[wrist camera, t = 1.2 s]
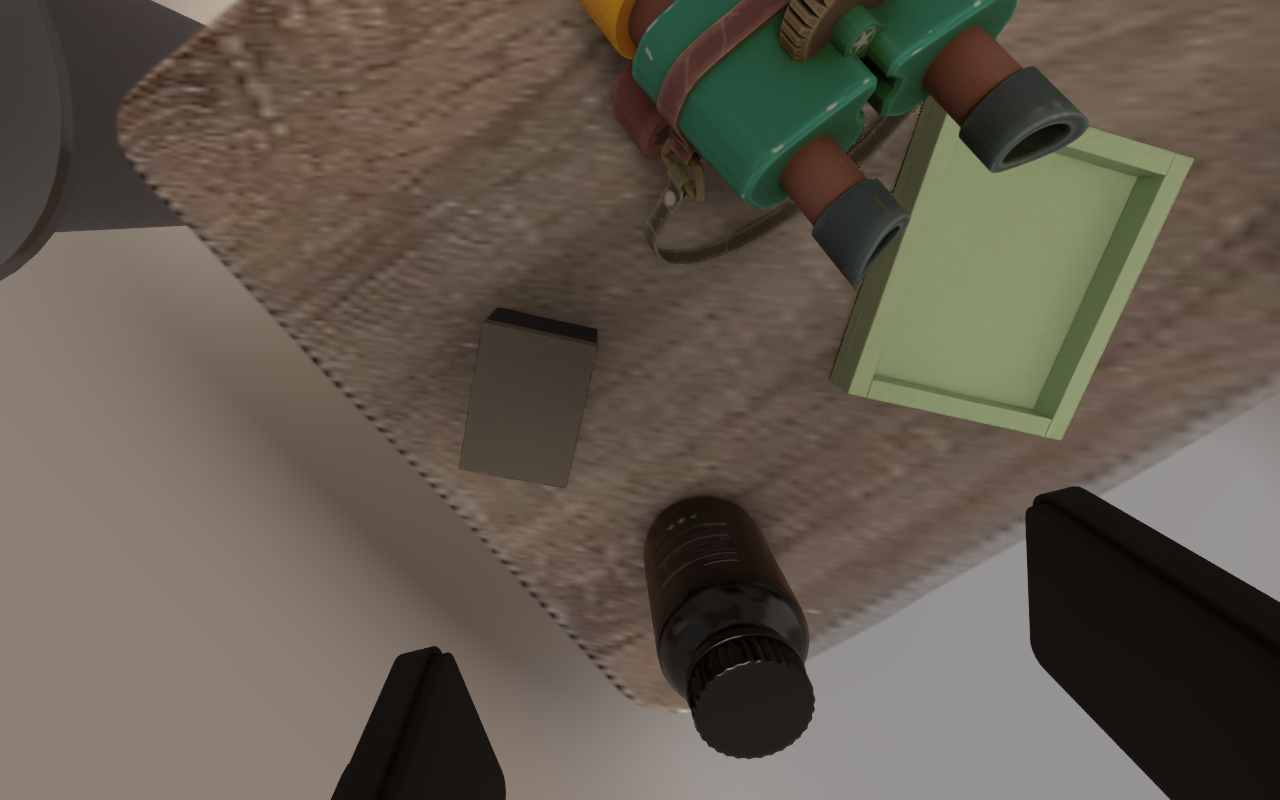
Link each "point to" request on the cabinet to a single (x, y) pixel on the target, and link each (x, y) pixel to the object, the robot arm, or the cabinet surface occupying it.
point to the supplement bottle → (728, 629)
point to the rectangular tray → (1005, 276)
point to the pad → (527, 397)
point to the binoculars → (817, 105)
